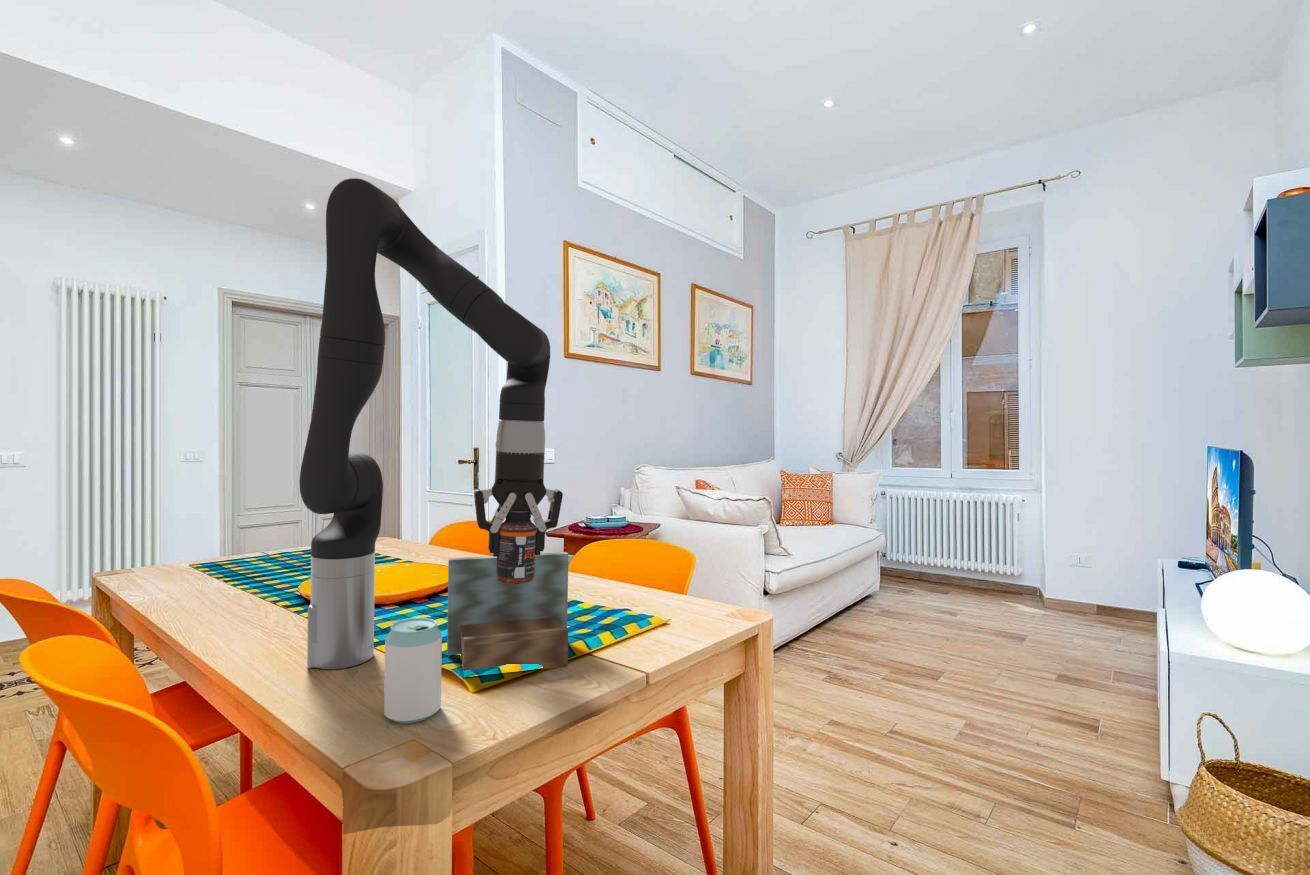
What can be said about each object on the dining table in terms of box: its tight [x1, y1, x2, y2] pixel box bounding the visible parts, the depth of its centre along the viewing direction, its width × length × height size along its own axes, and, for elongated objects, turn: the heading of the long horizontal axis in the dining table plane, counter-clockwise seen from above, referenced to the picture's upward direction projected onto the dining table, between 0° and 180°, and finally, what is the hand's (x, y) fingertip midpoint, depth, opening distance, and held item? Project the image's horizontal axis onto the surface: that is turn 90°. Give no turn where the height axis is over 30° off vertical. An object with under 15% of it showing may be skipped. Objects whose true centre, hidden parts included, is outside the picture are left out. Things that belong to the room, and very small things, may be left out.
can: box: [383, 617, 443, 724], centre depth 83 cm, size 7×7×12 cm
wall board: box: [446, 551, 569, 671], centre depth 102 cm, size 20×11×16 cm, turn 110°
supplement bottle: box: [496, 511, 536, 584], centre depth 98 cm, size 6×6×11 cm
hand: (516, 554), depth 99 cm, fingers closed on supplement bottle, 6 cm apart
